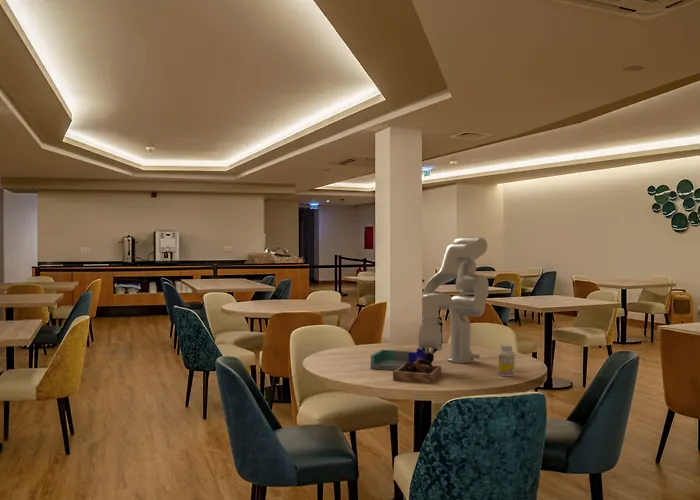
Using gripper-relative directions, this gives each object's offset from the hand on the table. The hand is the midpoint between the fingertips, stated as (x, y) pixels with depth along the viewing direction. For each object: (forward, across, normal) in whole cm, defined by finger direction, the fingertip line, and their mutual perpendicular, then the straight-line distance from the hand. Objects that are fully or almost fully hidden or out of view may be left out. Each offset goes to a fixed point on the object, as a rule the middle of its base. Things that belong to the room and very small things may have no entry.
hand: (429, 362), depth 274 cm
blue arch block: (+1, +7, 0) cm, 7 cm away
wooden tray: (+3, +1, +18) cm, 19 cm away
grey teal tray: (+3, +13, -1) cm, 14 cm away
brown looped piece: (+4, +2, +15) cm, 16 cm away
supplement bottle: (+3, -34, +1) cm, 34 cm away
